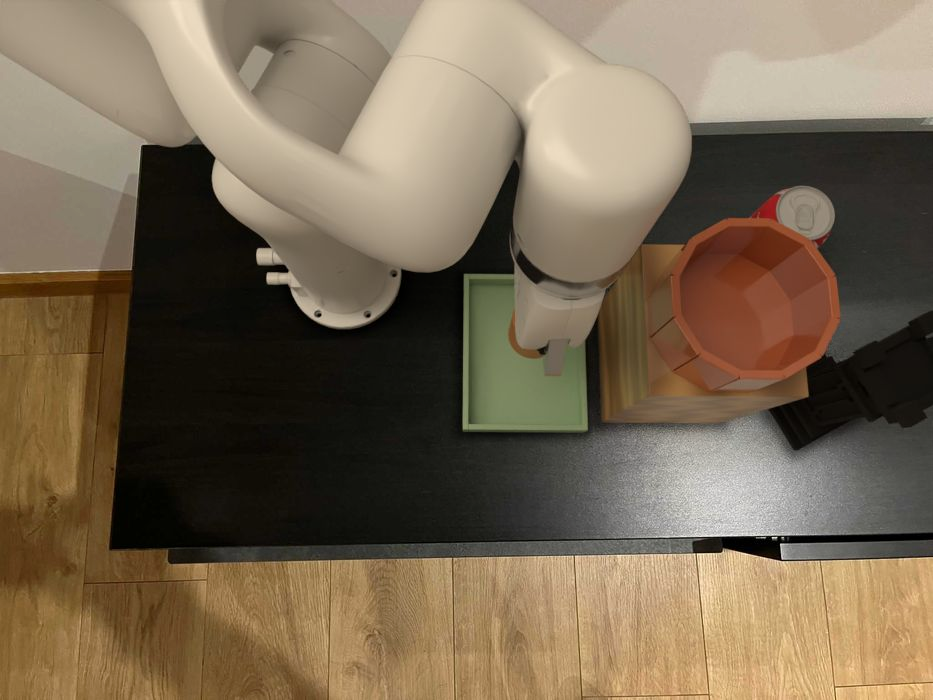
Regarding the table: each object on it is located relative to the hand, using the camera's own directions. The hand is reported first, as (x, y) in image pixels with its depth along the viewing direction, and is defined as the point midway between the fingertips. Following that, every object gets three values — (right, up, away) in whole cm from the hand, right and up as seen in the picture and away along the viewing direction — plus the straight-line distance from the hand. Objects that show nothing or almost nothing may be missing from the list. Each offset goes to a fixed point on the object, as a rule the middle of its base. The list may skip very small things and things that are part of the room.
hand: (541, 312), depth 60 cm
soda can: (+27, +8, +20) cm, 35 cm away
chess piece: (+31, -9, +17) cm, 36 cm away
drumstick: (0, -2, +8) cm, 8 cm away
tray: (0, -4, +18) cm, 18 cm away
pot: (+15, -1, -2) cm, 15 cm away
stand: (+15, -5, +17) cm, 23 cm away
